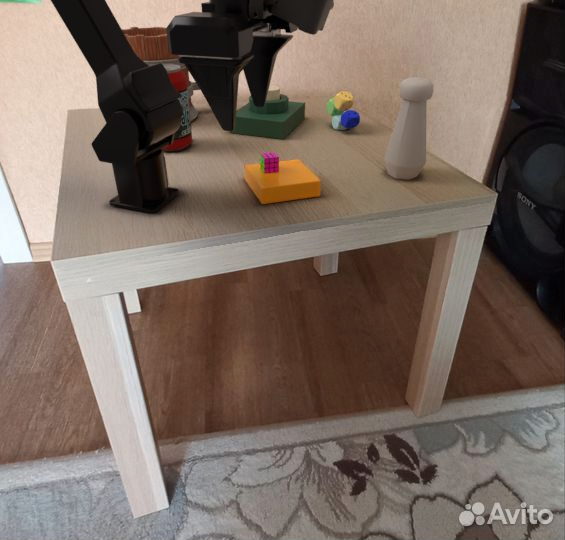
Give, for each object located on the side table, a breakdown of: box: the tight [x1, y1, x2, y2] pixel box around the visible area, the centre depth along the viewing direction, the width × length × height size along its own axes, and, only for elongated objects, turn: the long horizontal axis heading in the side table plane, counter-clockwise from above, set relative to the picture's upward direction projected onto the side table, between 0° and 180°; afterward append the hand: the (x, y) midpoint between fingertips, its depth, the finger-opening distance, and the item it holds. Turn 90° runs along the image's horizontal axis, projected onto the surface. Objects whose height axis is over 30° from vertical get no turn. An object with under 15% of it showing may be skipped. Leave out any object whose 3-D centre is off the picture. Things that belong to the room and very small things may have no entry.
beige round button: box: [266, 84, 281, 101], centre depth 83 cm, size 4×4×2 cm
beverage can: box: [149, 64, 193, 152], centre depth 73 cm, size 7×7×12 cm
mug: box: [121, 26, 201, 122], centre depth 86 cm, size 14×19×15 cm
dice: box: [326, 90, 361, 131], centre depth 83 cm, size 8×3×6 cm, turn 25°
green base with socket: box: [229, 93, 306, 140], centre depth 85 cm, size 13×10×5 cm
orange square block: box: [244, 151, 322, 205], centre depth 62 cm, size 8×8×4 cm
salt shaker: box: [383, 76, 434, 181], centre depth 64 cm, size 6×6×13 cm
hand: (245, 117), depth 49 cm, fingers open, 9 cm apart
